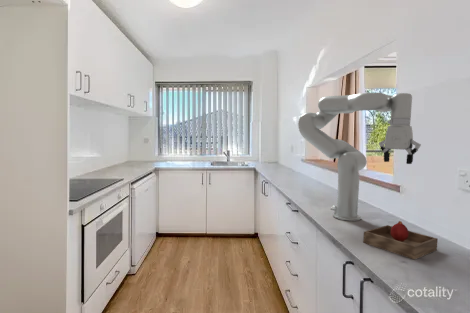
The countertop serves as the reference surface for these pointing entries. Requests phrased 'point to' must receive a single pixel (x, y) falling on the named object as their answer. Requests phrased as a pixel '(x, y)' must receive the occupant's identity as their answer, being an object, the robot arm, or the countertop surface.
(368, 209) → the countertop surface
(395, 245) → the holder tray
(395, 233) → the onion
